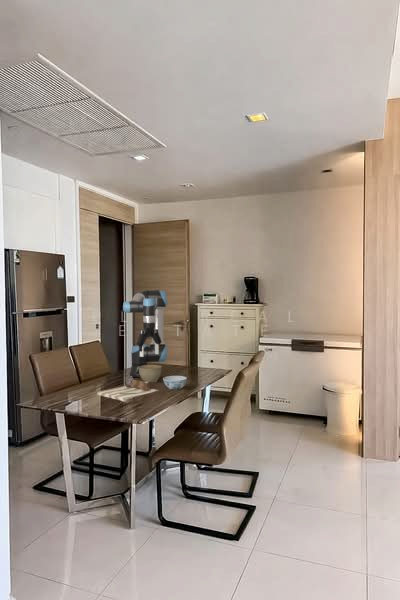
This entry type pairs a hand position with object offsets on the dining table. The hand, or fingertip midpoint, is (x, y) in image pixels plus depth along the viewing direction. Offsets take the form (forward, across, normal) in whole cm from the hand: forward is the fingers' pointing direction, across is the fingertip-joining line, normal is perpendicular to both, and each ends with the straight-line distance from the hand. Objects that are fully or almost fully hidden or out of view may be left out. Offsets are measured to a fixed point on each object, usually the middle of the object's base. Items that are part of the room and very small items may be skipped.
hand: (149, 355), depth 265 cm
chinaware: (+22, +8, -14) cm, 28 cm away
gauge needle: (+20, -8, +3) cm, 22 cm away
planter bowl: (+22, +16, +15) cm, 31 cm away
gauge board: (+22, -16, +2) cm, 27 cm away
